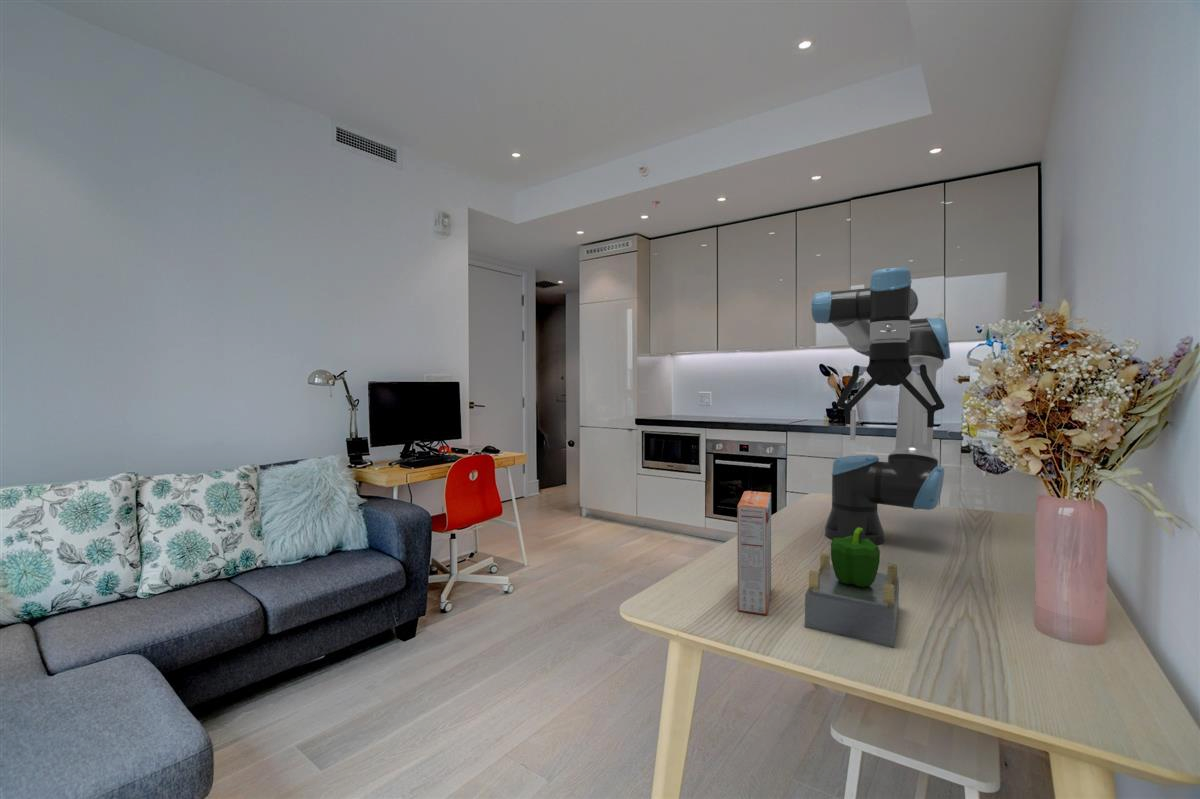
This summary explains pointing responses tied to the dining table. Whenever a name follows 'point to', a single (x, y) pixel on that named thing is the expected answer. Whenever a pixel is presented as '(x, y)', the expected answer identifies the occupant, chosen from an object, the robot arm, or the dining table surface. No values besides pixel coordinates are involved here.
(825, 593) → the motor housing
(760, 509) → the cracker box
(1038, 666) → the dining table surface
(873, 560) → the bell pepper
